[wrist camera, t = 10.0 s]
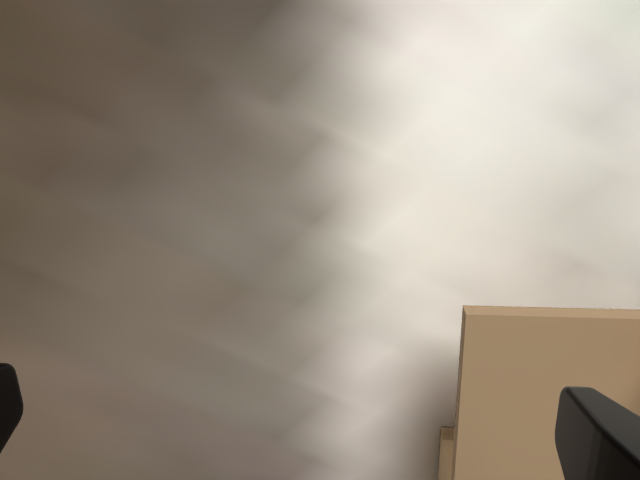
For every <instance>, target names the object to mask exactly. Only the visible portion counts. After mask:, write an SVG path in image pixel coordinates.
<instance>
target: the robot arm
mask: <svg viewBox="0 0 640 480" xmlns="http://www.w3.org/2000/svg"><path fill="white" fill-rule="evenodd" d="M22 414H23V401H22V396H21V392H20V388H19V383H18V379H17V375H16V371H15V369H14V368H13V366H12V365H10V364H7V363H0V453H1V451H2V450H3V448H4V446H5V445H6V443H7V441H8V440H9V438H10V436H11V435H12V433H13V431H14V430H15V428H16V426H17V425H18V423H19V421H20V419H21V417H22ZM555 445H556V450H557V453H558V457H559V460H560V464H561V468H562V471H563V475H564V479H565V480H640V416H638V415H637V414H635V413H633V412H632V411H630V410H628V409H627V408H625V407H624V406H622V405H620V404H619V403H617V402H615V401H614V400H612V399H610V398H609V397H607V396H605V395H604V394H602V393H600V392H599V391H597V390H595V389H594V388H591V387H578V386H566V387H564V388H563V389H562V391H561V393H560V397H559V404H558V411H557V418H556V425H555Z"/></svg>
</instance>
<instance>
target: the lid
mask: <svg viewBox="0 0 640 480" xmlns="http://www.w3.org/2000/svg"><path fill="white" fill-rule="evenodd" d="M566 386H578V387H591V388H594V389H595V390H597V391H599V392H600V393H602V394H604V395H605V396H607V397H609V398H610V399H612V400H614V401H615V402H617V403H619V404H620V405H622V406H624V407H625V408H627V409H628V410H630V411H632V412H633V413H635V414H637V415H638V416H640V310H627V309H586V308H546V307H505V306H464V305H463V313H462V328H461V342H460V357H459V371H458V386H457V400H456V415H455V430H454V444H453V459H452V473H451V480H565V479H564V475H563V471H562V468H561V464H560V460H559V457H558V453H557V450H556V445H555V425H556V418H557V411H558V404H559V397H560V393H561V391H562V389H563V388H564V387H566Z"/></svg>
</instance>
